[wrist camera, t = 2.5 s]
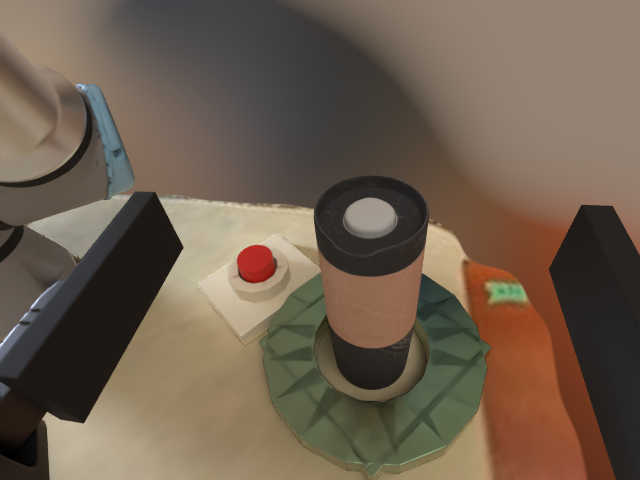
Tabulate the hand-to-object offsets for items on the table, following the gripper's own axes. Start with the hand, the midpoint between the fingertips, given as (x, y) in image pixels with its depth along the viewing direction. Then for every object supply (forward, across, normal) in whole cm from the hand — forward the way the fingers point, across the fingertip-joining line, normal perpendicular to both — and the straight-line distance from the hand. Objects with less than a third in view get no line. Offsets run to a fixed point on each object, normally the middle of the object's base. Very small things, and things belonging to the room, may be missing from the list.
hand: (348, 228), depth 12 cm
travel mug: (+10, 0, -28) cm, 30 cm away
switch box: (+17, -14, -28) cm, 35 cm away
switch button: (+17, -13, -24) cm, 32 cm away
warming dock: (+10, 0, -28) cm, 29 cm away
